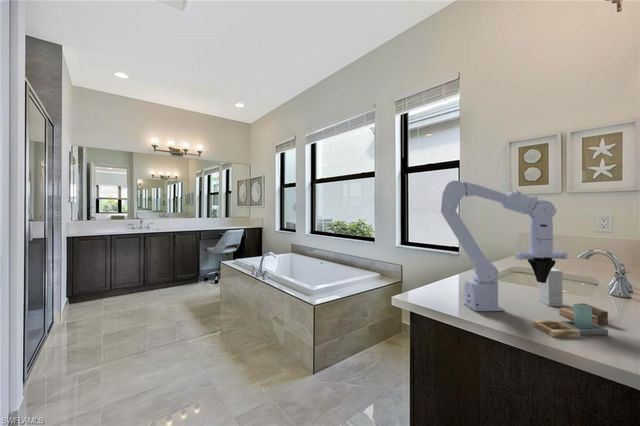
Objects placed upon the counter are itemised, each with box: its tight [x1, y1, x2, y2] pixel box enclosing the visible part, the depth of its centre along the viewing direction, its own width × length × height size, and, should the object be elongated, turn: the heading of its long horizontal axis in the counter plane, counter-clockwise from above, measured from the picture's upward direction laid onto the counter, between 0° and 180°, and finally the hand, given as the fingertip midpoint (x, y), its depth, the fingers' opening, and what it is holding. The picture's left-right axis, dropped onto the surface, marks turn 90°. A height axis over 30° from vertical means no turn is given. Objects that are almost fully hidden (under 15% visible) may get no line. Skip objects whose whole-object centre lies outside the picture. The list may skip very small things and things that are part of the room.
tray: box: [560, 320, 609, 337], centre depth 75 cm, size 7×6×2 cm
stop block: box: [582, 303, 609, 325], centre depth 82 cm, size 2×7×4 cm, turn 179°
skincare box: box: [538, 267, 564, 307], centre depth 96 cm, size 6×4×12 cm
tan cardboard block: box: [558, 307, 599, 325], centre depth 83 cm, size 5×7×2 cm
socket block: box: [531, 319, 581, 338], centre depth 75 cm, size 7×7×2 cm
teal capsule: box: [572, 303, 593, 329], centre depth 75 cm, size 4×4×6 cm
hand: (541, 282), depth 87 cm, fingers closed
